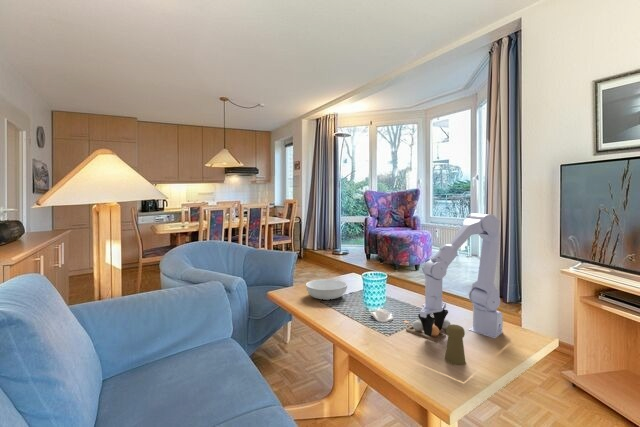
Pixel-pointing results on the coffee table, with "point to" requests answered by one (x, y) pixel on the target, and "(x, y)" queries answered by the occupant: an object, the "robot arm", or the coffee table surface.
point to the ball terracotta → (435, 331)
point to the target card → (406, 322)
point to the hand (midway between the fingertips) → (433, 332)
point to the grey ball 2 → (445, 324)
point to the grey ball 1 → (417, 325)
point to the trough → (421, 333)
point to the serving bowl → (326, 288)
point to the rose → (382, 315)
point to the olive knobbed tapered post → (455, 345)
